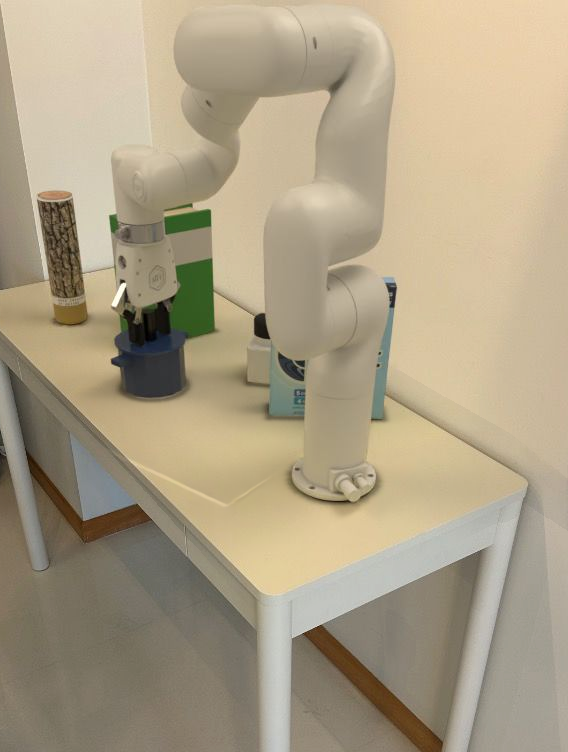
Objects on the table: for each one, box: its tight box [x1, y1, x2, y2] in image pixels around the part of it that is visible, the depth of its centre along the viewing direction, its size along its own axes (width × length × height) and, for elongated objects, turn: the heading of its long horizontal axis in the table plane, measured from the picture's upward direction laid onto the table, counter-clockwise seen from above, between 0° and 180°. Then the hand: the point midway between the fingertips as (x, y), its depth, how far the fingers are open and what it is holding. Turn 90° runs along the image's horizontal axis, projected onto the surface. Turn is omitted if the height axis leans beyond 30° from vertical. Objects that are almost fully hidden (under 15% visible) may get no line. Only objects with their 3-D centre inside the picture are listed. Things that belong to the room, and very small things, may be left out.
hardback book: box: [108, 203, 216, 339], centre depth 157 cm, size 18×7×24 cm, turn 127°
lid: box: [113, 309, 187, 356], centre depth 139 cm, size 12×12×6 cm
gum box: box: [268, 276, 398, 420], centre depth 132 cm, size 20×5×23 cm, turn 90°
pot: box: [110, 330, 190, 399], centre depth 143 cm, size 11×17×8 cm
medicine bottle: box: [246, 311, 271, 385], centre depth 145 cm, size 7×7×12 cm
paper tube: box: [36, 190, 89, 325], centre depth 163 cm, size 7×7×25 cm
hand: (150, 336), depth 140 cm, fingers open, 5 cm apart
